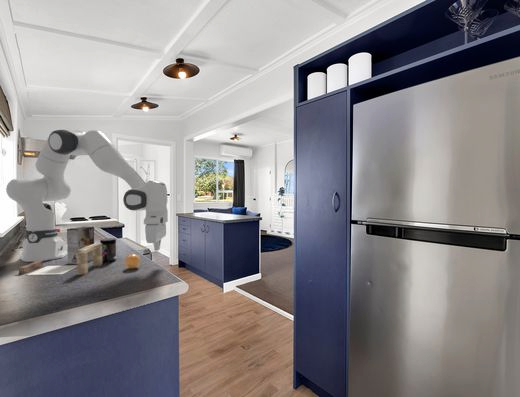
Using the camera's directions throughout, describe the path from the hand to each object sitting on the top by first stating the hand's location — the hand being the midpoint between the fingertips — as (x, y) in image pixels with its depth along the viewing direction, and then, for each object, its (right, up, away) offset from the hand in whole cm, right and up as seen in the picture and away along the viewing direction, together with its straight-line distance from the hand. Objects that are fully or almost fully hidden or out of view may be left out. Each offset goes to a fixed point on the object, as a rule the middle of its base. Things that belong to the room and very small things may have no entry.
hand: (157, 250), depth 119 cm
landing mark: (-41, -8, -5) cm, 42 cm away
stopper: (-51, -7, -5) cm, 51 cm away
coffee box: (-39, -8, +10) cm, 41 cm away
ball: (-10, -5, -1) cm, 11 cm away
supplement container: (-27, -8, +11) cm, 31 cm away
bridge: (-27, -8, -3) cm, 28 cm away
